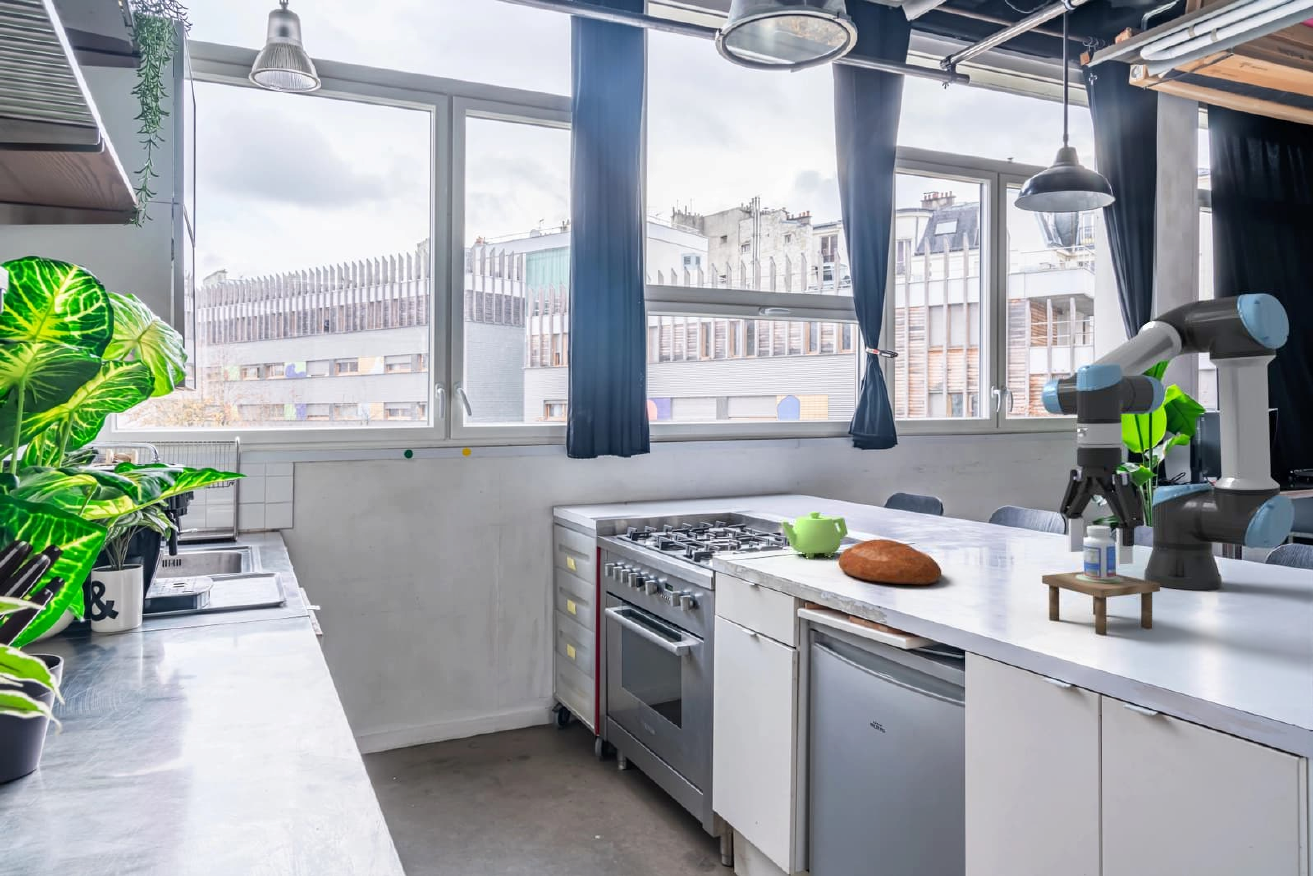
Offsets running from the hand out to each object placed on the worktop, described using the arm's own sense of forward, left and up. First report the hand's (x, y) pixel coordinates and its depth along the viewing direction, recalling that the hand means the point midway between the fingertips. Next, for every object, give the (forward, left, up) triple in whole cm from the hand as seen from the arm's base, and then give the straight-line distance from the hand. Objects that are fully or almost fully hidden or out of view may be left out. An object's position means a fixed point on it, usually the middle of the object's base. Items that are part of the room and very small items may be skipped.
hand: (1099, 557), depth 156 cm
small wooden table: (0, 0, -13) cm, 13 cm away
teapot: (+27, -85, -13) cm, 90 cm away
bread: (+19, -53, -13) cm, 58 cm away
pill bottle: (0, 0, -4) cm, 4 cm away
